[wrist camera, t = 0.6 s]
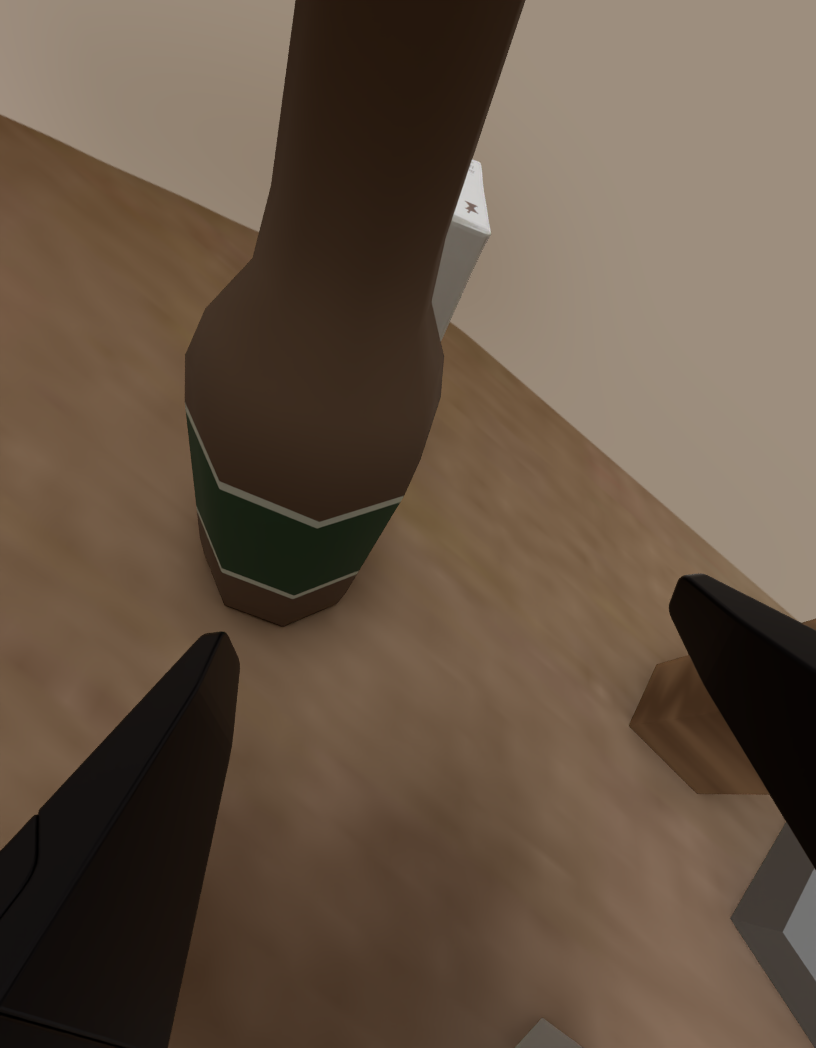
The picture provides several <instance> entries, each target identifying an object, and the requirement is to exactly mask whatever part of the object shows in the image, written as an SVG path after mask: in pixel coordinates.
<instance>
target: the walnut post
mask: <svg viewBox="0 0 816 1048" xmlns="http://www.w3.org/2000/svg"><path fill="white" fill-rule="evenodd" d="M803 624H804V625H806V626H808V627H810V628H812V629H814V630H816V619H813V620H810V621H806V622H803ZM629 726H630V727H631V728H632V729H633V730H634V731H635V732H636V733H637V734H638V735H639V736H640V737H641V738H642V739H643V740H644V741H645V742H646V743H647V744H648V745H649V746H650V747H651V748H652V749H653V750H654V751H655V752H656V753H657V754H658V755H659V756H660V757H661V758H662V759H663V760H664V761H665V762H666V763H667V764H668V765H669V766H670V767H671V768H672V769H673V770H674V771H675V772H676V773H677V774H678V775H679V776H680V777H681V778H682V779H683V780H684V781H685V782H686V783H687V784H688V785H689V786H690V787H691V788H692V789H693V790H694V791H695V792H696V793H697V794H768V795H770V794H769V793H768V791H767V789H766V788H765V786H764V784H763V783H762V781H761V779H760V778H759V776H758V774H757V773H756V771H755V769H754V768H753V766H752V765H751V763H750V761H749V760H748V758H747V756H746V755H745V753H744V751H743V750H742V748H741V746H740V745H739V743H738V741H737V740H736V738H735V736H734V735H733V733H732V731H731V730H730V728H729V727H728V725H727V723H726V722H725V720H724V718H723V717H722V715H721V713H720V712H719V710H718V708H717V707H716V705H715V703H714V702H713V700H712V698H711V697H710V695H709V693H708V692H707V690H706V688H705V686H704V685H703V683H702V681H701V679H700V677H699V675H698V673H697V671H696V669H695V667H694V665H693V662H692V660H691V658H690V656H689V655H688V656H685V657H681V658H678V659H674V660H671V661H667V662H664V663H660V664H657V665H656V667H655V670H654V672H653V674H652V676H651V678H650V681H649V683H648V685H647V687H646V689H645V692H644V694H643V696H642V698H641V700H640V703H639V705H638V707H637V709H636V711H635V714H634V716H633V718H632V720H631V722H630V724H629Z"/></svg>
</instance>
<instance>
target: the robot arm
mask: <svg viewBox="0 0 816 1048" xmlns="http://www.w3.org/2000/svg"><path fill="white" fill-rule="evenodd" d="M669 612H670V616H671V618H672V620H673V622H674V624H675V627H676V629H677V631H678V633H679V635H680V637H681V639H682V641H683V643H684V646H685V648H686V650H687V652H688V654H689V656H690V658H691V660H692V662H693V665H694V667H695V669H696V671H697V673H698V675H699V677H700V679H701V681H702V683H703V685H704V686H705V688H706V690H707V692H708V693H709V695H710V697H711V698H712V700H713V702H714V703H715V705H716V707H717V708H718V710H719V712H720V713H721V715H722V717H723V718H724V720H725V722H726V723H727V725H728V727H729V728H730V730H731V731H732V733H733V735H734V736H735V738H736V740H737V741H738V743H739V745H740V746H741V748H742V750H743V751H744V753H745V755H746V756H747V758H748V760H749V761H750V763H751V765H752V766H753V768H754V769H755V771H756V773H757V774H758V776H759V778H760V779H761V781H762V783H763V784H764V786H765V788H766V789H767V791H768V793H769V794H770V796H771V798H772V799H773V801H774V802H775V804H776V806H777V807H778V809H779V811H780V812H781V814H782V816H783V817H784V819H785V821H786V822H787V824H788V826H789V827H790V829H791V831H792V832H793V834H794V835H795V837H796V839H797V840H798V842H799V844H800V845H801V847H802V849H803V850H804V852H805V854H806V855H807V857H808V859H809V860H810V862H811V864H812V865H813V867H814V868H815V870H816V630H814V629H812V628H810V627H808V626H806V625H804V624H803V623H801V622H799V621H797V620H795V619H793V618H791V617H789V616H787V615H785V614H783V613H781V612H779V611H777V610H775V609H773V608H771V607H769V606H767V605H765V604H763V603H761V602H759V601H757V600H755V599H753V598H751V597H749V596H747V595H745V594H743V593H741V592H739V591H737V590H735V589H733V588H731V587H730V586H728V585H726V584H724V583H722V582H720V581H718V580H716V579H714V578H712V577H710V576H708V575H705V574H692V575H684V576H682V577H681V578H679V580H678V582H677V584H676V587H675V590H674V592H673V595H672V598H671V600H670V603H669ZM239 672H240V663H239V658H238V656H237V654H236V651H235V649H234V647H233V645H232V643H231V641H230V639H229V636H228V635H227V634H226V633H225V632H215V633H207V634H204V635H202V636H201V637H200V638H199V639H198V640H197V641H196V642H195V643H194V644H193V645H192V646H191V647H190V648H189V649H188V650H187V651H186V653H185V654H184V655H183V656H182V657H181V658H180V659H179V660H178V661H177V662H176V663H175V664H174V665H173V666H172V668H171V669H170V670H169V671H168V672H167V673H166V674H165V675H164V676H163V677H162V678H161V679H160V680H159V682H158V683H157V684H156V685H155V686H154V687H153V688H152V689H151V690H150V691H149V692H148V693H147V694H146V695H145V697H144V698H143V699H142V700H141V701H140V702H139V703H138V704H137V705H136V706H135V707H134V708H133V709H132V711H131V712H130V713H129V714H128V715H127V716H126V717H125V718H124V719H123V720H122V721H121V722H120V723H119V725H118V726H117V727H116V728H115V729H114V730H113V731H112V732H111V733H110V734H109V735H108V736H107V737H106V738H105V740H104V741H103V742H102V743H101V744H100V745H99V746H98V747H97V748H96V749H95V750H94V751H93V752H92V754H91V755H90V756H89V757H88V758H87V759H86V760H85V761H84V762H83V763H82V764H81V765H80V766H79V767H78V769H77V770H76V771H75V772H74V773H73V774H72V775H71V776H70V777H69V778H68V779H67V780H66V781H65V783H64V784H63V785H62V786H61V787H60V788H59V789H58V790H57V791H56V792H55V793H54V794H53V795H52V797H51V798H50V799H49V800H48V801H47V802H46V803H45V804H44V805H43V806H42V807H41V808H40V810H39V813H38V814H37V815H34V816H33V817H32V818H31V819H30V820H29V821H28V822H27V823H26V824H25V825H24V826H23V827H22V828H21V830H20V831H19V832H18V833H17V834H16V835H15V836H14V837H13V838H12V839H11V840H10V841H9V842H8V843H7V844H6V846H5V847H4V848H3V849H2V850H1V851H0V1048H168V1044H169V1039H170V1034H171V1030H172V1025H173V1020H174V1016H175V1011H176V1006H177V1002H178V997H179V992H180V988H181V983H182V978H183V973H184V969H185V964H186V959H187V955H188V950H189V945H190V941H191V936H192V931H193V927H194V922H195V917H196V913H197V908H198V903H199V899H200V894H201V889H202V885H203V880H204V875H205V871H206V866H207V861H208V857H209V852H210V847H211V843H212V838H213V833H214V829H215V824H216V819H217V815H218V810H219V805H220V801H221V796H222V791H223V787H224V782H225V777H226V773H227V768H228V763H229V758H230V753H231V748H232V741H233V732H234V722H235V712H236V702H237V692H238V682H239Z"/></svg>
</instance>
